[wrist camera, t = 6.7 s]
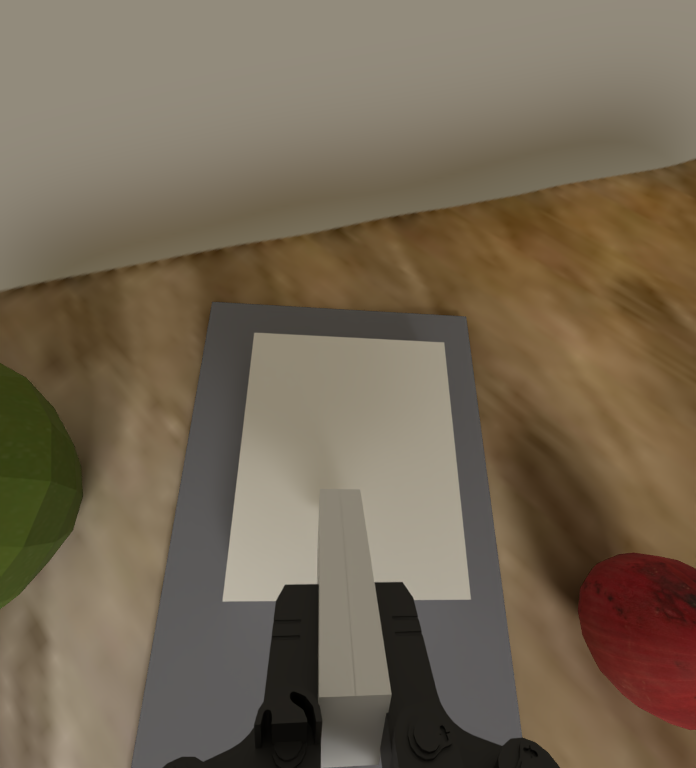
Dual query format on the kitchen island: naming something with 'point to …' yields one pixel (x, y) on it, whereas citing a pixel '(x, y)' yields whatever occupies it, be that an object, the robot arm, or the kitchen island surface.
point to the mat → (255, 618)
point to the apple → (32, 483)
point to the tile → (347, 463)
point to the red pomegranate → (644, 631)
